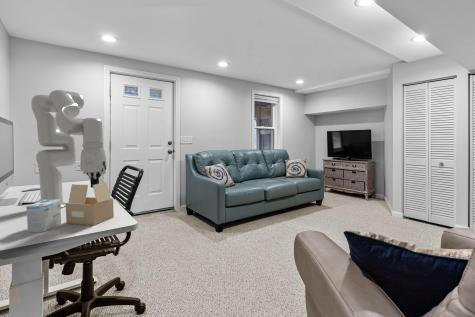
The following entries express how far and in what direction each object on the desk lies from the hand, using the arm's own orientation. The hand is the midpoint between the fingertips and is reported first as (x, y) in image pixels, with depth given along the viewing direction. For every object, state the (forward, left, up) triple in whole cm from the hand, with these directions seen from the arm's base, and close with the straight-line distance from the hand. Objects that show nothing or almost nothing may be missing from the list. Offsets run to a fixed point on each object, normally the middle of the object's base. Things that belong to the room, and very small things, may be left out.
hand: (95, 187), depth 109 cm
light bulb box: (-14, -12, -16) cm, 24 cm away
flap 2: (+3, 0, -2) cm, 4 cm away
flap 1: (-4, -5, -2) cm, 7 cm away
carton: (-3, 0, -15) cm, 16 cm away
